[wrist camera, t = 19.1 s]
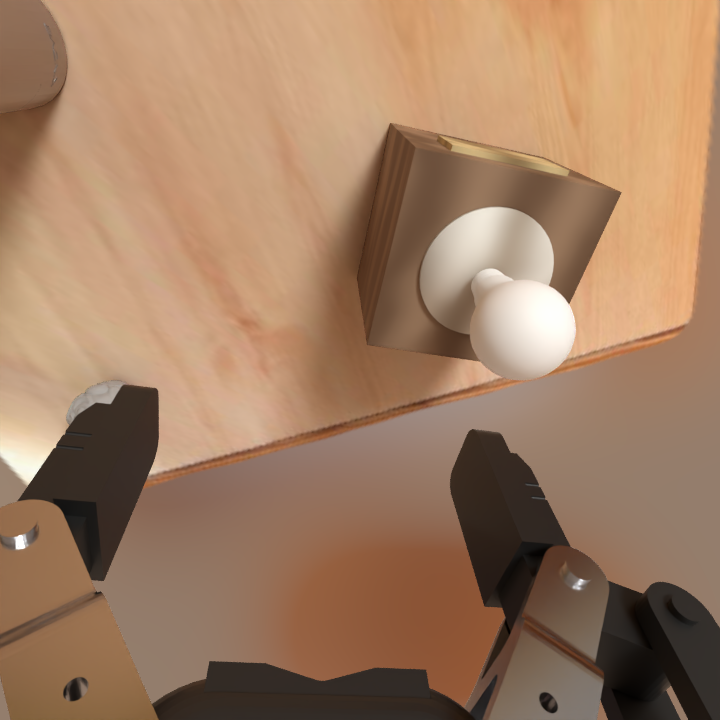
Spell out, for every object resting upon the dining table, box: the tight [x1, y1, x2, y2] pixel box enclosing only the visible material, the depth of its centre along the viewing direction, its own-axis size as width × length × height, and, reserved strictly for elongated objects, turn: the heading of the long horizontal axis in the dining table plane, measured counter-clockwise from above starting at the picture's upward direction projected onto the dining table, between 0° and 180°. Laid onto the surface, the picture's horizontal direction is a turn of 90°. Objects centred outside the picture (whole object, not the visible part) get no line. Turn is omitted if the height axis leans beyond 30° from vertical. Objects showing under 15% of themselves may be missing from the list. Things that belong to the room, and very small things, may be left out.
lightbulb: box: [470, 268, 576, 380], centre depth 32 cm, size 6×6×11 cm
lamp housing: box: [357, 123, 622, 362], centre depth 42 cm, size 15×15×14 cm
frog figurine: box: [66, 380, 129, 425], centre depth 53 cm, size 6×7×7 cm
